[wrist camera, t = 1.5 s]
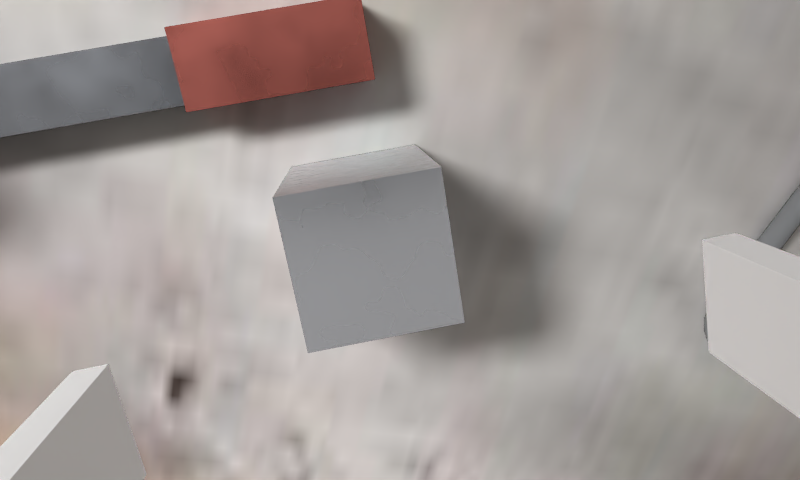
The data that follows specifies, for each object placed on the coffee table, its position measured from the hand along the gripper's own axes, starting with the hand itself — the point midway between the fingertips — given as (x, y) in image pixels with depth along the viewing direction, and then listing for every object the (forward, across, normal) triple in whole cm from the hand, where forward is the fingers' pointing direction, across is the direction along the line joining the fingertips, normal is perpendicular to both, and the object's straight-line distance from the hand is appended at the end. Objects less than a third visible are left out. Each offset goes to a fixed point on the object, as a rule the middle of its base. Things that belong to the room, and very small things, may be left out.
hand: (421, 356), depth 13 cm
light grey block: (+17, -1, 0) cm, 17 cm away
